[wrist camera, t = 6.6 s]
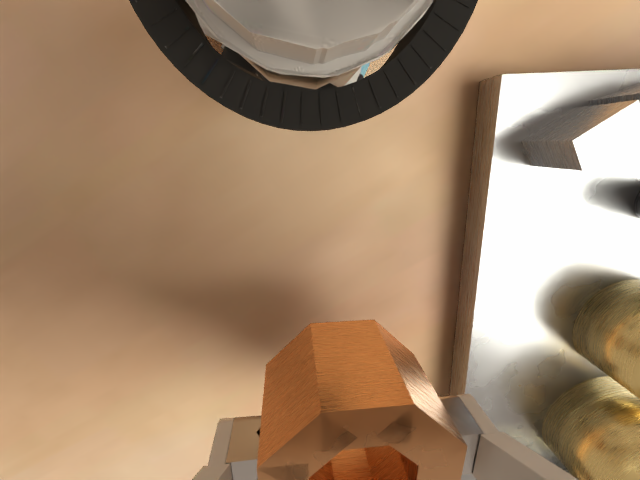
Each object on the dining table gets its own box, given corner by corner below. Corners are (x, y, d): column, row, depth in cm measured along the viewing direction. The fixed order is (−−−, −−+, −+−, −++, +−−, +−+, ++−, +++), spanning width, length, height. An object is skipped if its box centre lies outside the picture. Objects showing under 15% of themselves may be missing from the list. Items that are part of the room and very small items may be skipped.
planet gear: (271, 444, 13) (266, 564, 10) (263, 326, 11) (252, 418, 8) (404, 431, 14) (448, 540, 10) (417, 316, 12) (477, 398, 8)
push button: (182, 90, 13) (-169, -80, 3) (226, -55, 11) (-143, -1143, 2) (329, 158, 14) (407, 192, 4) (383, 36, 13) (665, -301, 3)
